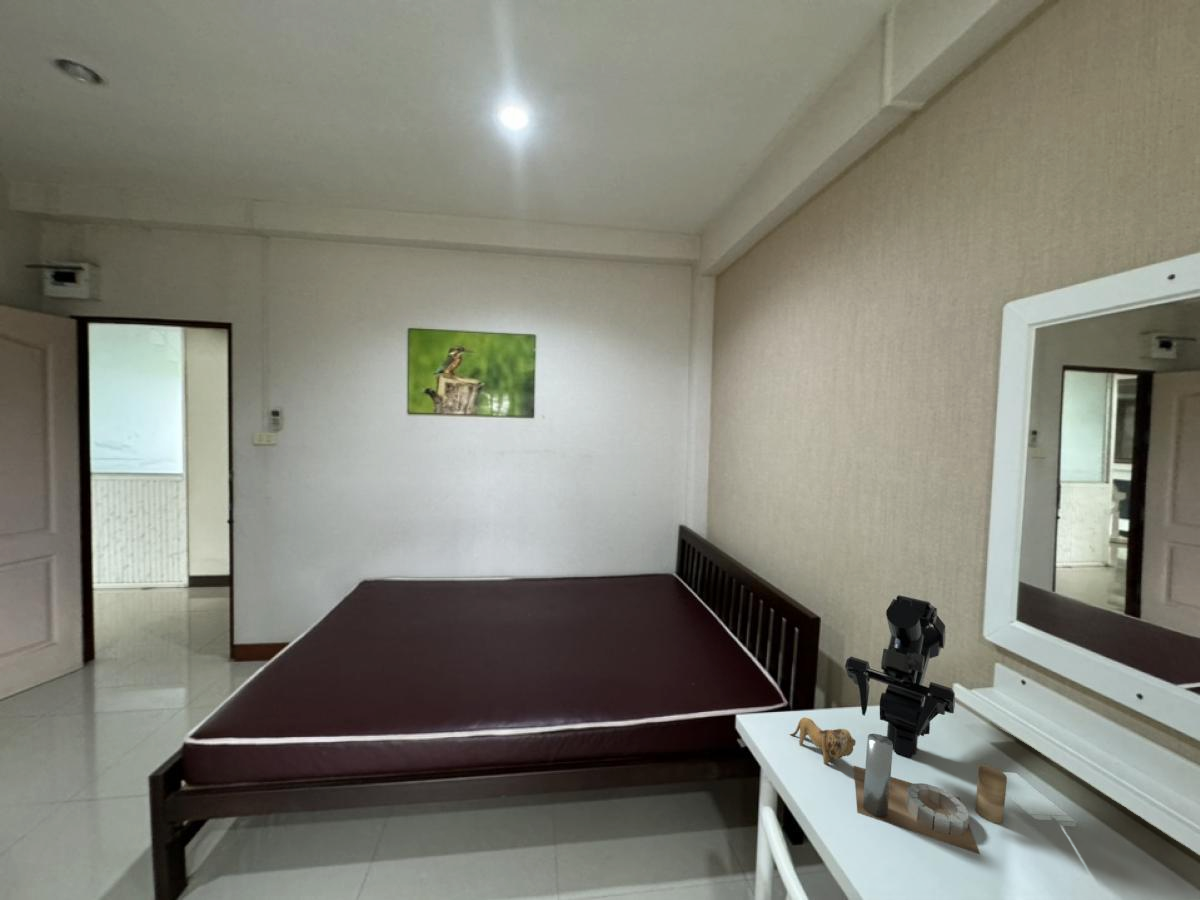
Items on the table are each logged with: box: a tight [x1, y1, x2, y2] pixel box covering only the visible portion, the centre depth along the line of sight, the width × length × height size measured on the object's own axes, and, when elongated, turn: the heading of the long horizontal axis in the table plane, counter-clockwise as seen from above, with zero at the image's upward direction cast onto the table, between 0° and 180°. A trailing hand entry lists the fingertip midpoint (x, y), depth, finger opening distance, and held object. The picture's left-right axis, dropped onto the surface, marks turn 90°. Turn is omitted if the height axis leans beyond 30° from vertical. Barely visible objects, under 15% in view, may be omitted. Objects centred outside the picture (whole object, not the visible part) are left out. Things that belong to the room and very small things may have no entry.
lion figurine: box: [789, 717, 856, 766], centre depth 103 cm, size 15×5×9 cm, turn 34°
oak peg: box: [974, 764, 1007, 825], centre depth 88 cm, size 4×4×9 cm
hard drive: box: [1002, 771, 1077, 827], centre depth 94 cm, size 2×8×12 cm
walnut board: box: [853, 765, 981, 855], centre depth 90 cm, size 14×18×1 cm
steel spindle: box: [863, 733, 894, 818], centre depth 88 cm, size 4×4×13 cm
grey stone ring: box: [906, 782, 970, 836], centre depth 88 cm, size 9×9×2 cm
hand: (889, 724), depth 94 cm, fingers open, 9 cm apart
